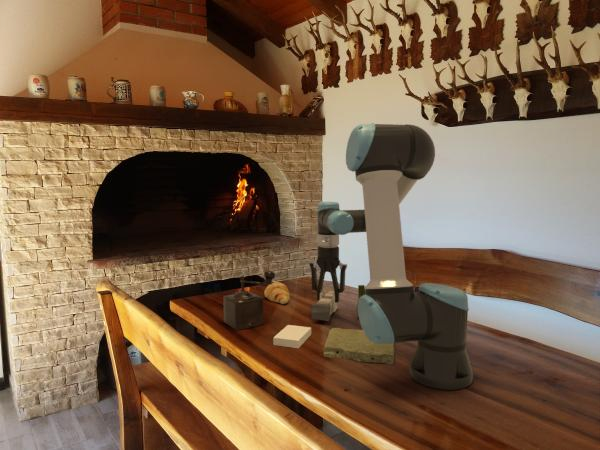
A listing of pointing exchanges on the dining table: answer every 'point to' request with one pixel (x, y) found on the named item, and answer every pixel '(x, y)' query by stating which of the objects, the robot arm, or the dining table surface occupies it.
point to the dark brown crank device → (245, 305)
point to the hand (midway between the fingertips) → (328, 310)
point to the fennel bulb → (360, 293)
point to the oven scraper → (323, 307)
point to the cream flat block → (292, 336)
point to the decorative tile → (357, 347)
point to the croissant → (277, 292)
